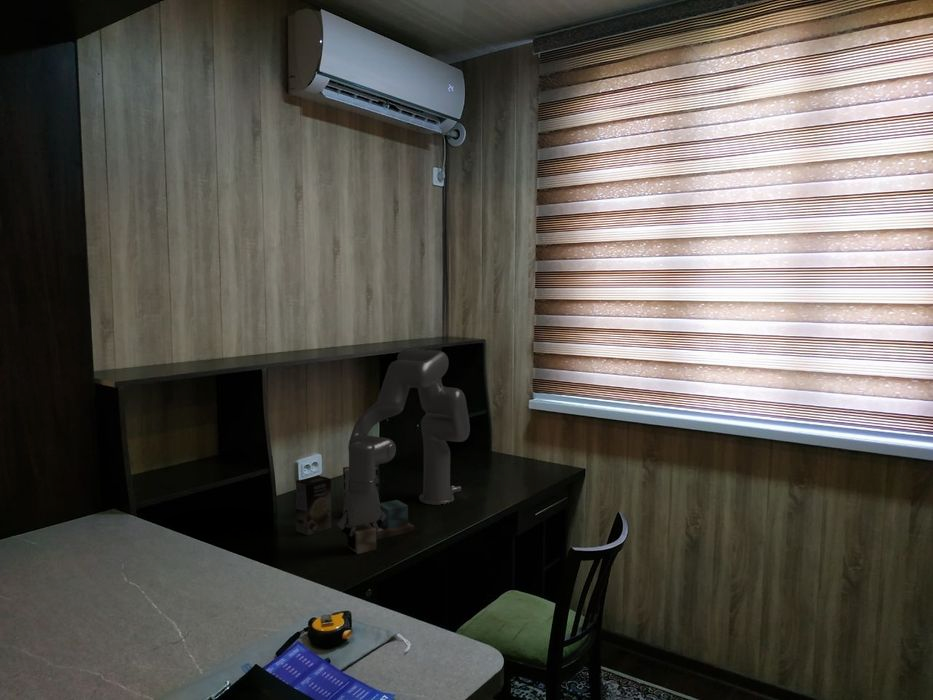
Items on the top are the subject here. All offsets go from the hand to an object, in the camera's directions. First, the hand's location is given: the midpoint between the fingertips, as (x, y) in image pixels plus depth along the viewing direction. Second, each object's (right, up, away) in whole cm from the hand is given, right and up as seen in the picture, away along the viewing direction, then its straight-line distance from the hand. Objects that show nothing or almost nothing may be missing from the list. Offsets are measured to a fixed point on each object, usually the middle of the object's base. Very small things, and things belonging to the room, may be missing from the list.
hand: (362, 544), depth 196 cm
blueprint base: (+3, 0, +14) cm, 15 cm away
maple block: (0, -1, 0) cm, 1 cm away
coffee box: (-17, 0, +15) cm, 23 cm away
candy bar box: (-5, +1, +28) cm, 29 cm away
